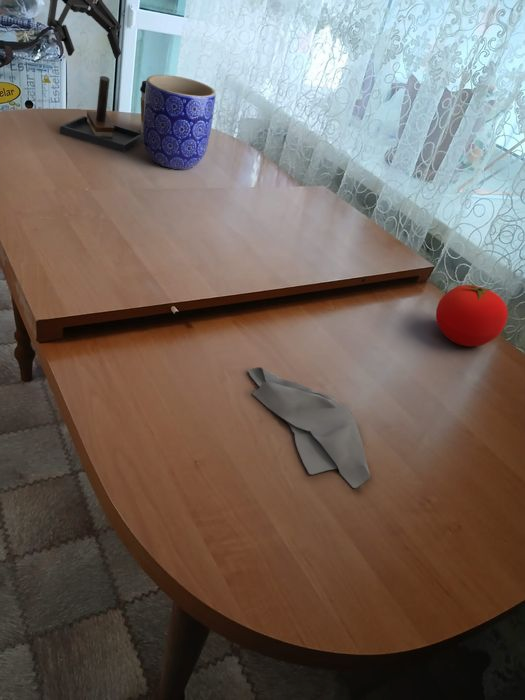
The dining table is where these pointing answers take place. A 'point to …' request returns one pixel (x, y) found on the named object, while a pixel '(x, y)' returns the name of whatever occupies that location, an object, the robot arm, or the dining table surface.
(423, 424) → the dining table surface
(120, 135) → the tray
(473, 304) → the tomato
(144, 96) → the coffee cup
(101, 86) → the brush
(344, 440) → the cloth
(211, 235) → the dining table surface
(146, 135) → the planter
